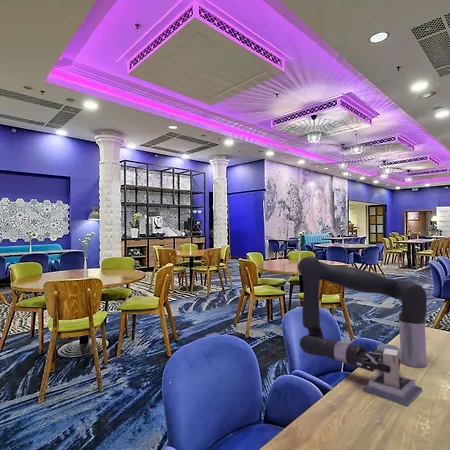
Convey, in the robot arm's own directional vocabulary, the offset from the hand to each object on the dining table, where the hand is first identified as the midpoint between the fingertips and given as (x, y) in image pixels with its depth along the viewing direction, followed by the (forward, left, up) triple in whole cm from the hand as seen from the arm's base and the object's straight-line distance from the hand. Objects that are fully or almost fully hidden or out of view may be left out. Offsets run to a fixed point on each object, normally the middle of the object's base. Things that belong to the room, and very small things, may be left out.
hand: (395, 365), depth 109 cm
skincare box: (0, -1, -8) cm, 8 cm away
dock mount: (0, -1, -9) cm, 9 cm away
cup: (-13, -7, -9) cm, 17 cm away
